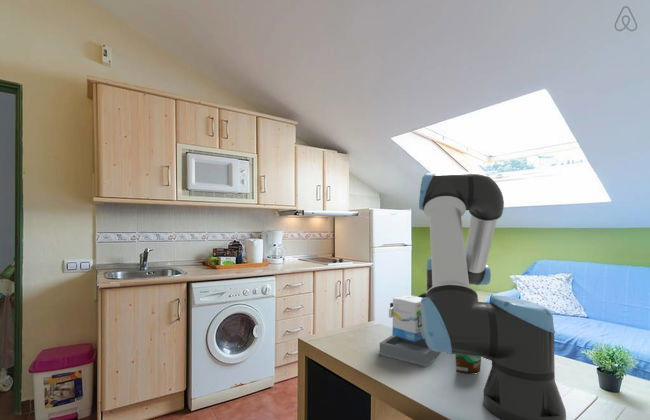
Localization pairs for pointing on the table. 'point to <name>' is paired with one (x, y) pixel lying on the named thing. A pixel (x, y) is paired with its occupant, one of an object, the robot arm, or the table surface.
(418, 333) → the ink box
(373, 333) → the table surface
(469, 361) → the food container
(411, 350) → the housing tray
